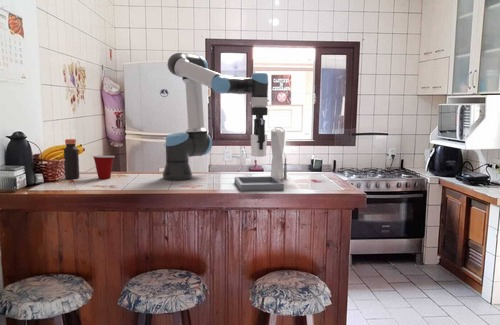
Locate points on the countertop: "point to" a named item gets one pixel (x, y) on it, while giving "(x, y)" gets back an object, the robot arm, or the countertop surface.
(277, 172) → the skyscraper
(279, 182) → the slate tray
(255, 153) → the white cup
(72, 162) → the bottle
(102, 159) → the plastic cup
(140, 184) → the countertop surface
